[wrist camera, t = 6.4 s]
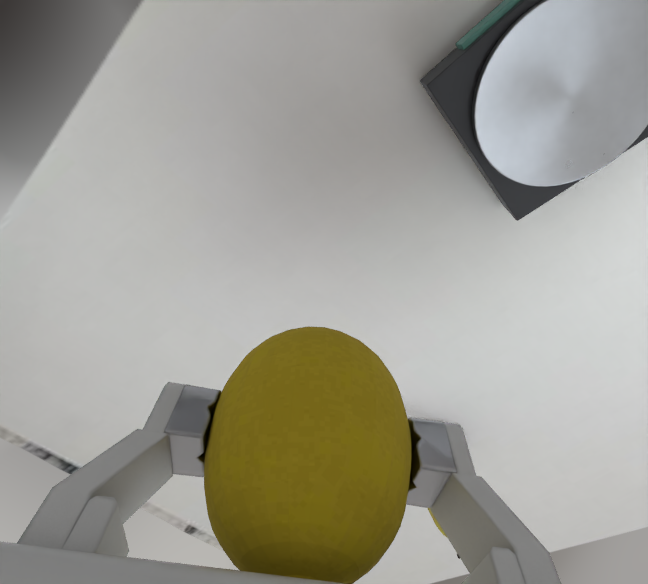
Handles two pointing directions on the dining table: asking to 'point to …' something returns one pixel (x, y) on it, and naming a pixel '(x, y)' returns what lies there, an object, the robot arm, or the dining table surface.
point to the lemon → (308, 458)
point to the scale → (457, 98)
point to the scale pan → (564, 90)
